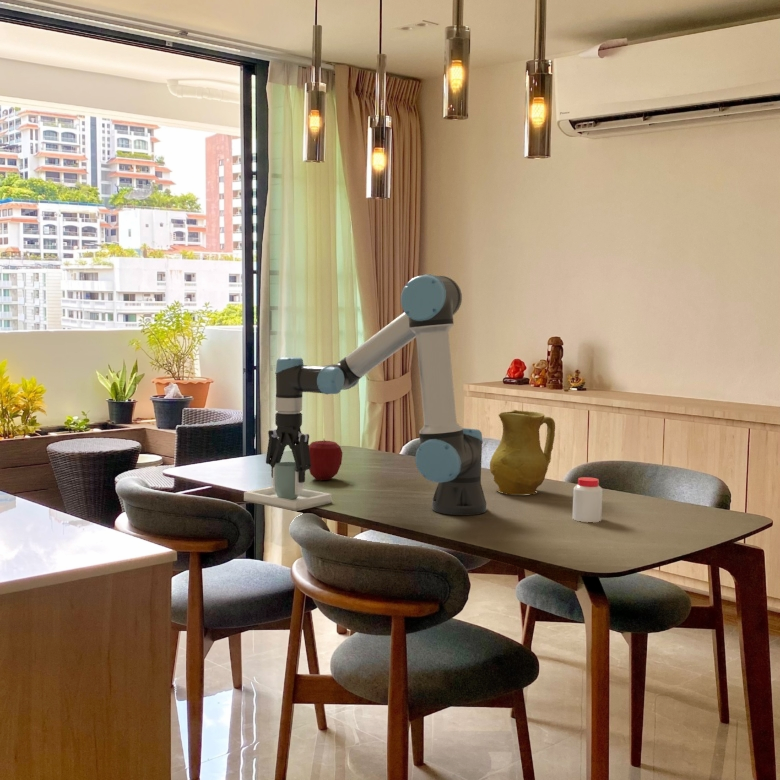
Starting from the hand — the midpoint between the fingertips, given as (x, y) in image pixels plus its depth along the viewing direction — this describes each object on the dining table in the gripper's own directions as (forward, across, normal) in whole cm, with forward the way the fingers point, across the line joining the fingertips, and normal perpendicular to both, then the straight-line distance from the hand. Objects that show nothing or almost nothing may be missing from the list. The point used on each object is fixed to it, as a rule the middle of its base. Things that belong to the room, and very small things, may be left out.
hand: (287, 491), depth 278 cm
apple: (+3, +15, -32) cm, 36 cm away
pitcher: (+3, -42, -58) cm, 72 cm away
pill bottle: (+3, -74, -38) cm, 83 cm away
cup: (+2, 0, 0) cm, 2 cm away
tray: (+3, 0, 0) cm, 3 cm away
